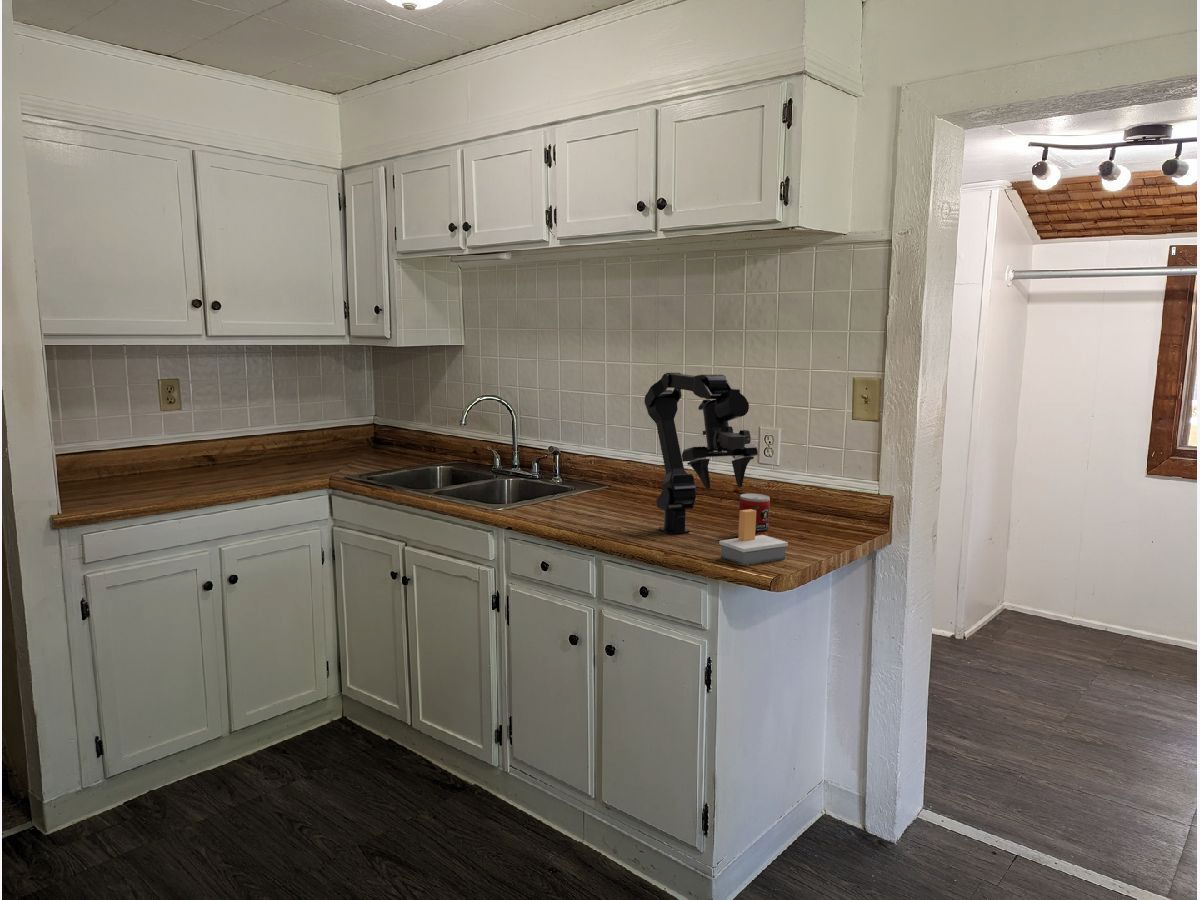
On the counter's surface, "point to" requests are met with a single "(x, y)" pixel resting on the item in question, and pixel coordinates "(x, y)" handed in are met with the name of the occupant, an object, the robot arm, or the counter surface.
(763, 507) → the canned food
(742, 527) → the lid
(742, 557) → the tub
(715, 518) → the counter surface
